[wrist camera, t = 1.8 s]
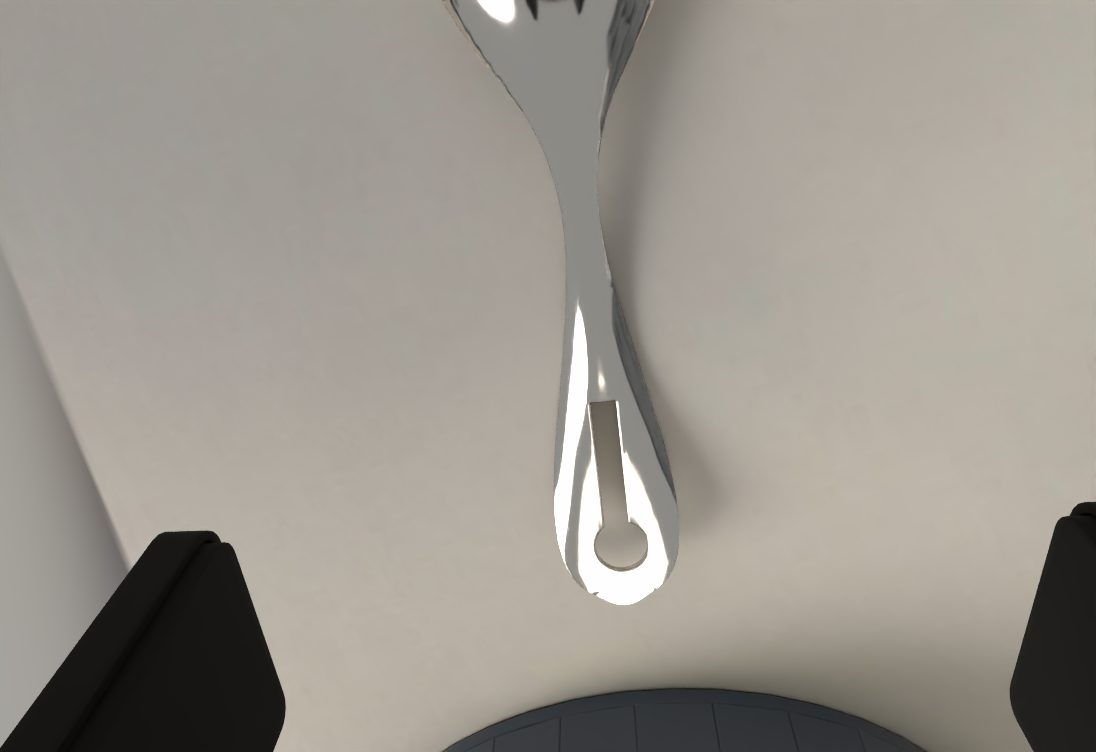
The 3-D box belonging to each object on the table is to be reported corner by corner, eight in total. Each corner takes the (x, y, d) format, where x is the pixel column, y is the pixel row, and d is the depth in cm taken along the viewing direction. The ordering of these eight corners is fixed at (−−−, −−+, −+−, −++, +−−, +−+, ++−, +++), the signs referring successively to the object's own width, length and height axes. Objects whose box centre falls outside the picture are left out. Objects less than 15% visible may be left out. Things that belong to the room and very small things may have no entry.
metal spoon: (718, 651, 21) (541, 663, 21) (701, 565, 24) (547, 576, 25) (665, -302, 13) (378, -250, 13) (649, -239, 16) (419, -200, 16)
